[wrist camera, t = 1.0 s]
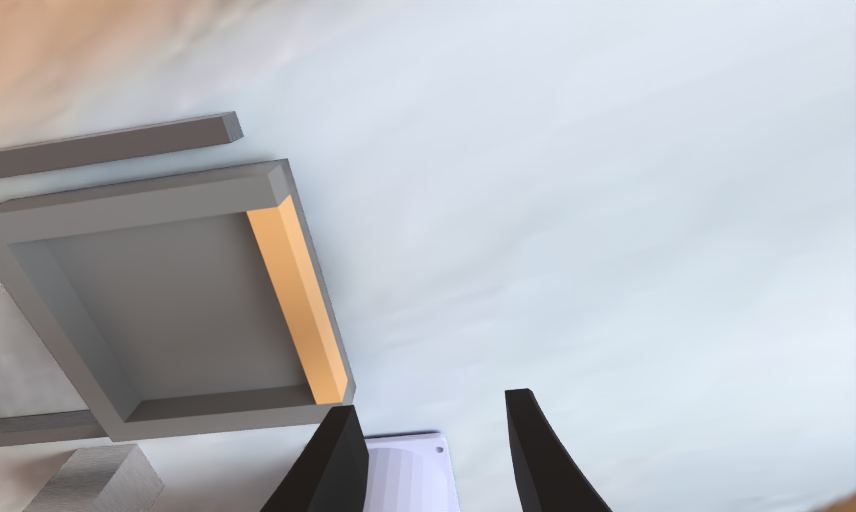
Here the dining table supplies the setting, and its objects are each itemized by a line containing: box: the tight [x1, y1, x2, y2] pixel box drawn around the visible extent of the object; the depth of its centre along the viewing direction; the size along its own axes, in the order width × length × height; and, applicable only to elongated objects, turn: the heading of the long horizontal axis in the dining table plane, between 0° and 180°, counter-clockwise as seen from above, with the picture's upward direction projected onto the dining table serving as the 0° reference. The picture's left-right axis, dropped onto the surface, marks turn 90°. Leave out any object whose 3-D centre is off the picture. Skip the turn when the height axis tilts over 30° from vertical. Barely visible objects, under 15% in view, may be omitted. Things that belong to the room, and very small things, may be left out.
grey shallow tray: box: [0, 158, 356, 442], centre depth 19 cm, size 12×12×3 cm
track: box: [0, 111, 244, 447], centre depth 21 cm, size 16×22×1 cm
